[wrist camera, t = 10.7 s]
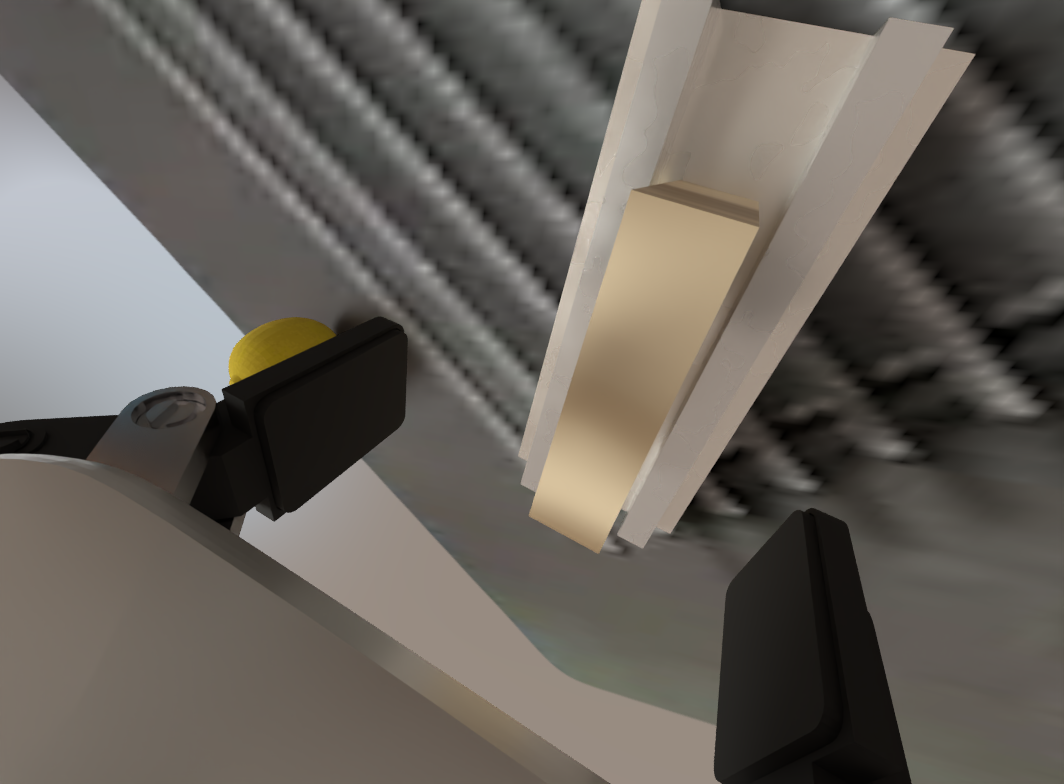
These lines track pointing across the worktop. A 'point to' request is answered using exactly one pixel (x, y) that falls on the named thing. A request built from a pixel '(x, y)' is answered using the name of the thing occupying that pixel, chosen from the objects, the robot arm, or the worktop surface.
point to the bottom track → (750, 172)
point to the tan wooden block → (640, 347)
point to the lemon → (274, 345)
